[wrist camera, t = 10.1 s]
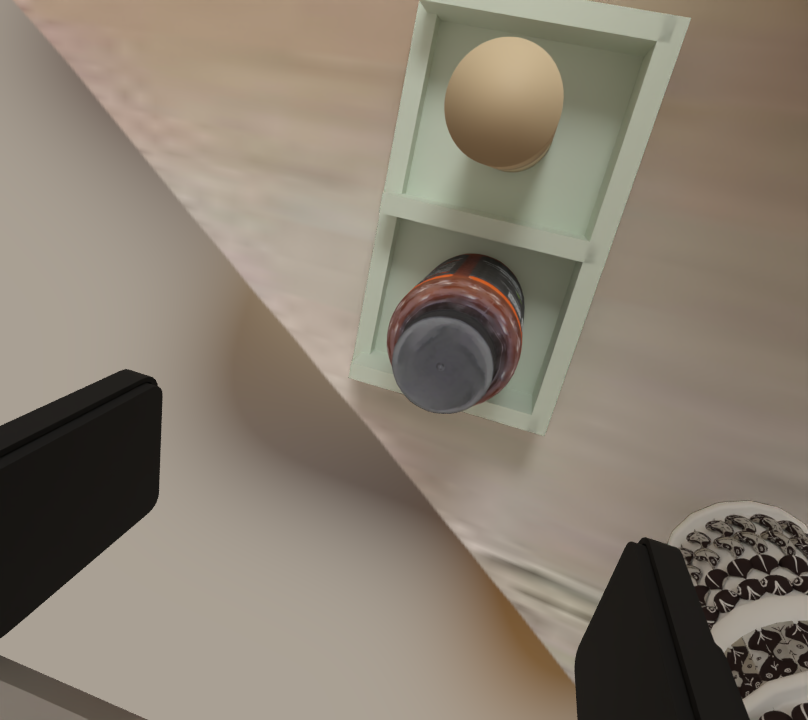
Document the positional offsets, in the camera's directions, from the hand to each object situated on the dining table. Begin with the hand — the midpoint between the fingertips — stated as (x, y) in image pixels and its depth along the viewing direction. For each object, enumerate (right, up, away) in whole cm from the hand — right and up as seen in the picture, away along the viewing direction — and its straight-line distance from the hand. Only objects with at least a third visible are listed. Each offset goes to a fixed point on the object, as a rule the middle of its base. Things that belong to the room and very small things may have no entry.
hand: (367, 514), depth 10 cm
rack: (+6, +11, +19) cm, 23 cm away
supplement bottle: (+5, +6, +20) cm, 22 cm away
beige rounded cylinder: (+6, +15, +17) cm, 23 cm away
